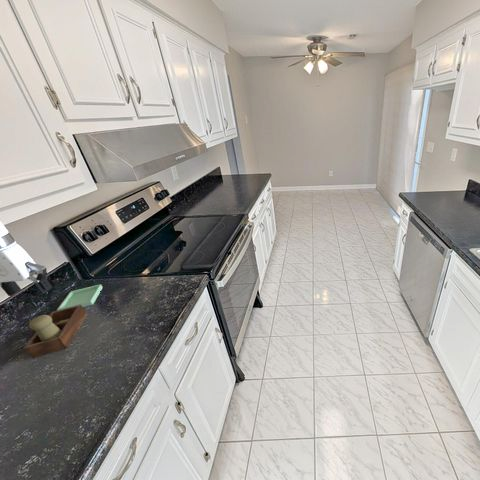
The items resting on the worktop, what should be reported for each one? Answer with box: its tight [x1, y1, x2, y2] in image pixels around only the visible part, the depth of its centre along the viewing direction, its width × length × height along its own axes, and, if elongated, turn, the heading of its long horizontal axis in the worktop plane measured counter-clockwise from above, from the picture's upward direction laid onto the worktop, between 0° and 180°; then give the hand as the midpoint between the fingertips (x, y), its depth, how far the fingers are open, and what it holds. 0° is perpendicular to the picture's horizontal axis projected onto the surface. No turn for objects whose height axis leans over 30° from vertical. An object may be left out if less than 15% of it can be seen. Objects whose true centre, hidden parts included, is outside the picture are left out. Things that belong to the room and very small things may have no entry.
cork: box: [28, 314, 61, 342], centre depth 85 cm, size 6×6×11 cm
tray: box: [56, 283, 103, 311], centre depth 107 cm, size 11×12×2 cm
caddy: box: [24, 305, 88, 359], centre depth 90 cm, size 9×17×5 cm, turn 22°
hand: (31, 291), depth 78 cm, fingers open, 9 cm apart
